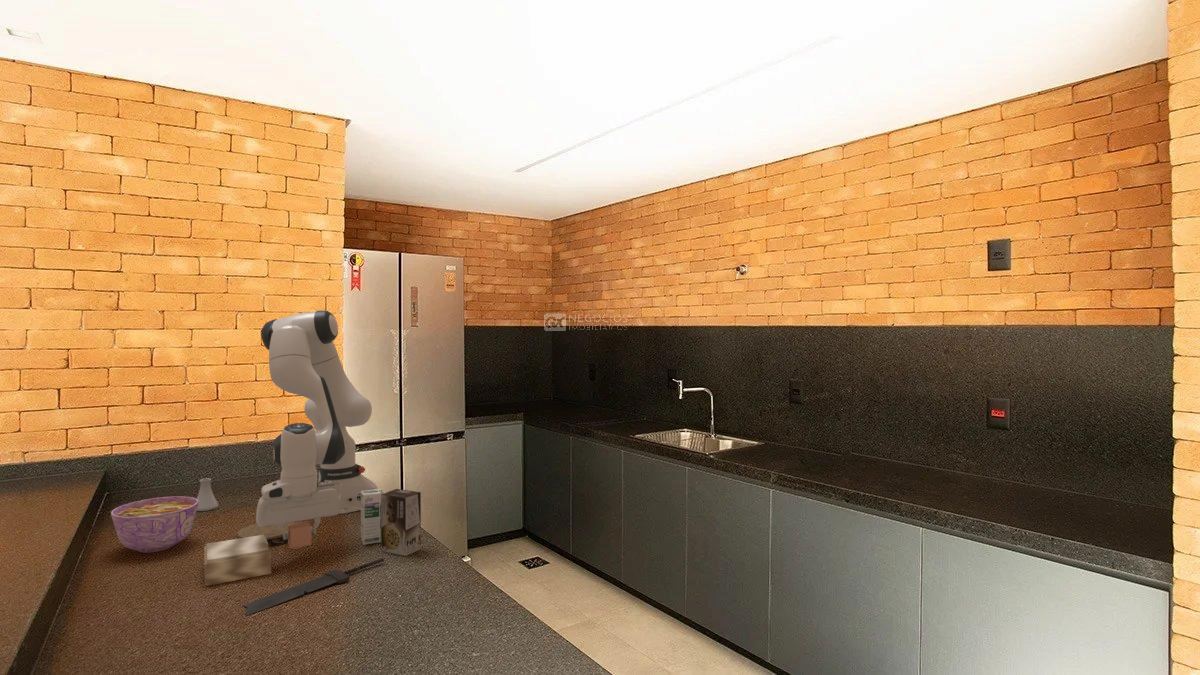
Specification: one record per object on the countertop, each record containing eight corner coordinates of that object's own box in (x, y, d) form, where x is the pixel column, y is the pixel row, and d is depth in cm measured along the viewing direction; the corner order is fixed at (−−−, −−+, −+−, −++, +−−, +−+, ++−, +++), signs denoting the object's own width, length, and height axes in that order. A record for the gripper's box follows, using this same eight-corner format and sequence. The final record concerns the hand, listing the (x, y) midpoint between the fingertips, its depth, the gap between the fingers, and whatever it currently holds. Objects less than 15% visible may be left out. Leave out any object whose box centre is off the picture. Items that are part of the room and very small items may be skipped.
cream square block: (265, 555, 167) (265, 533, 167) (271, 573, 155) (271, 549, 155) (204, 566, 159) (204, 543, 159) (204, 586, 147) (204, 561, 147)
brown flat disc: (301, 542, 178) (301, 532, 178) (237, 553, 169) (237, 542, 169) (296, 526, 191) (296, 517, 191) (236, 535, 183) (236, 525, 183)
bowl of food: (208, 547, 173) (207, 506, 172) (118, 567, 158) (118, 522, 158) (188, 530, 186) (188, 492, 186) (104, 547, 172) (104, 506, 171)
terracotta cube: (308, 539, 168) (308, 521, 168) (311, 544, 164) (311, 526, 164) (288, 542, 166) (287, 524, 165) (290, 548, 161) (290, 529, 161)
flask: (205, 512, 204) (205, 482, 204) (187, 511, 205) (187, 481, 205) (223, 506, 211) (223, 477, 211) (205, 505, 212) (205, 476, 212)
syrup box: (362, 545, 175) (363, 494, 175) (360, 539, 180) (360, 489, 180) (384, 542, 178) (384, 492, 177) (381, 536, 183) (381, 487, 183)
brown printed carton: (421, 549, 173) (422, 491, 172) (405, 556, 167) (405, 497, 167) (396, 544, 177) (396, 487, 176) (380, 551, 171) (380, 493, 170)
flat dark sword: (233, 611, 137) (233, 602, 137) (375, 560, 164) (375, 552, 164) (248, 620, 132) (247, 611, 132) (391, 566, 160) (391, 558, 160)
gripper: (338, 477, 173) (338, 526, 173) (255, 488, 161) (255, 540, 162) (343, 482, 168) (343, 532, 168) (257, 493, 156) (257, 547, 157)
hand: (299, 536), depth 165 cm, fingers closed on terracotta cube, 5 cm apart
